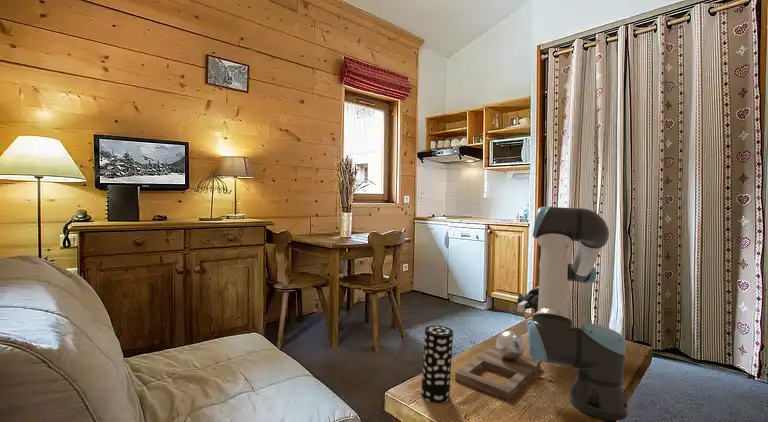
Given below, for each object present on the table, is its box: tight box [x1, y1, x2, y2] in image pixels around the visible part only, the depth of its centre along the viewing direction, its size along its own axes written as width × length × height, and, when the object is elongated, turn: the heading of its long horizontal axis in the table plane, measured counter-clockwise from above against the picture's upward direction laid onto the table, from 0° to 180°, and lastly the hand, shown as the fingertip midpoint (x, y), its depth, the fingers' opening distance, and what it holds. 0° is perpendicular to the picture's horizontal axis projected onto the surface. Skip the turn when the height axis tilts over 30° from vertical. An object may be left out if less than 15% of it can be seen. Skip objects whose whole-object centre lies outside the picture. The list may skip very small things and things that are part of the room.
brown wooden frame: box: [454, 346, 542, 401], centre depth 131 cm, size 30×18×2 cm, turn 141°
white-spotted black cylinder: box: [420, 324, 454, 404], centre depth 114 cm, size 8×8×20 cm
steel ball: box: [495, 330, 526, 360], centre depth 138 cm, size 10×10×10 cm
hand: (519, 308), depth 143 cm, fingers closed
